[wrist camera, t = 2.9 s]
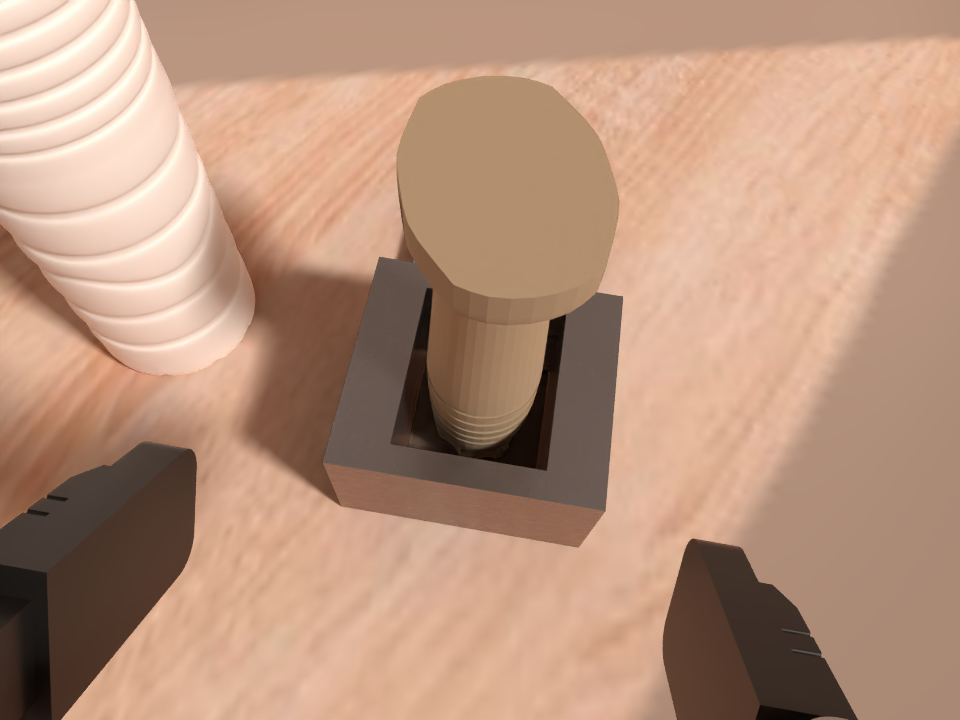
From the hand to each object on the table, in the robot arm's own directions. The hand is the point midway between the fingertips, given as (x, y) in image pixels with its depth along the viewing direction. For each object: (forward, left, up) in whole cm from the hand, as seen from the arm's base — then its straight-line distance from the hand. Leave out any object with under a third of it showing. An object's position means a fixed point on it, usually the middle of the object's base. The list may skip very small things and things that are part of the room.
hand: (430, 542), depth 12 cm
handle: (0, +9, -16) cm, 18 cm away
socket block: (0, +9, -16) cm, 18 cm away
